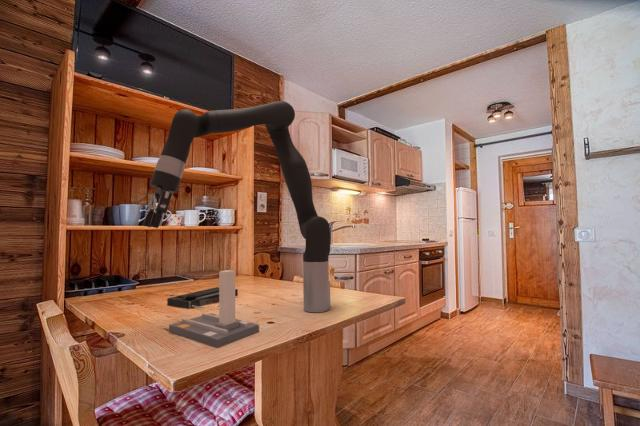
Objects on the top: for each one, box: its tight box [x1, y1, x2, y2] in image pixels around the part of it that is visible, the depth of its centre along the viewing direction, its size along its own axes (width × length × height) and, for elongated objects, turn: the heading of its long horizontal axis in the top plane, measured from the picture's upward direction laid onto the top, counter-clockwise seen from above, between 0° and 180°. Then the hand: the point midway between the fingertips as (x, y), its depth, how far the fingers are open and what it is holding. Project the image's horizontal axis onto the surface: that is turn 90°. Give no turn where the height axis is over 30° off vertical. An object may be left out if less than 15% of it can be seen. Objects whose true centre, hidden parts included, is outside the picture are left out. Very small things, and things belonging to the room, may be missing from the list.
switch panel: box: [168, 312, 260, 349], centre depth 88 cm, size 14×22×3 cm, turn 55°
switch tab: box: [215, 269, 239, 330], centre depth 85 cm, size 5×4×16 cm
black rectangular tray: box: [166, 286, 239, 310], centre depth 126 cm, size 25×4×20 cm
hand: (150, 226), depth 88 cm, fingers open, 8 cm apart
